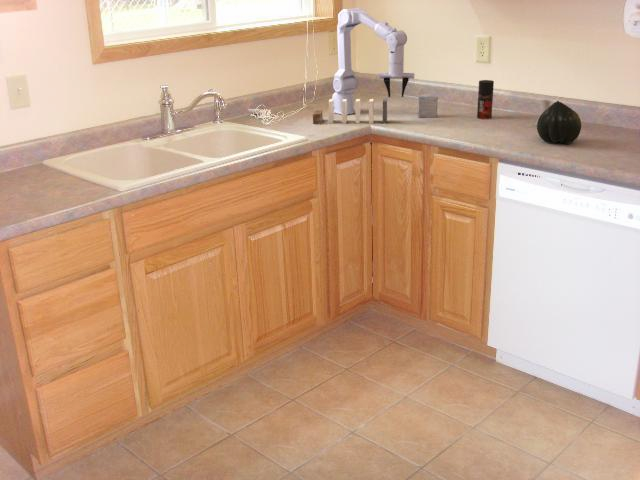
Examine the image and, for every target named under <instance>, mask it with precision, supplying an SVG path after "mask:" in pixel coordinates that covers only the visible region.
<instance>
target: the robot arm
mask: <svg viewBox="0 0 640 480" xmlns="http://www.w3.org/2000/svg"><path fill="white" fill-rule="evenodd" d="M337 21H338V23H337V25H336V27H337V28H336V33H337V35H336V36H337V61H338V70H337V71H336V72H335V73H334V75H333V76H334V77H333V81H332V87H333V90H334V91H335V92H334V93H333V94H332V96H331V99H334V114H338V115H342V100H343V99H347V115H352V114H356V111H355V107H354V106H355V105H354V104H355V103H354V102H355V100H354V92H355V90H356V89H357V88H358V80H357V78H356V77H357V75H356V72H355V71H354V70H353V69H352V49H351V48H352V47H351V46H352V45H351V43H352V39H351V31H353V30H354V28H355V27H356V26H358V25H360V24H363V25H365V26H367V27H369V28H370V29H372V30H373V31H374V32H375V33H374V34H375V35H376V36H378V37H379V38H380V39H383V41H385V42H386V45H387V47H388V51H389V52H388V53H389V54H388V55H389V58H388V60H389V61H388V63H389V64H388V68H389V69H388V72H383V73H381V72H380V73H378V74H377V77H378V78H377V79H378V80H383V82H384V85H385V88H386V91H387V95H388V98H391V80H392V79H393V80H394V79H397V80H398V79H401V80H402V83H401V86H402V87H401V98H404V95H405V90H406V87H407V85H408V83H409V80H410V79H411V80H415V73H414V72H404V68H405V67H404V64H405V63H404V62H405V61H404V57H405V44H407V41H408V36H407V34H406V32H405V31H404V30H397V28H396V27H393V26H391V25H390V24H389V22H387V21H378V20H377V19H375V18H374V17H373V16H371V15H370V14H369V13H367V11H366V10H365V9H363V8H361V7H355V8H344V9H342V10H340V12H339V13H338V14H337Z"/></svg>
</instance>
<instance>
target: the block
mask: <svg viewBox="0 0 640 480" xmlns="http://www.w3.org/2000/svg"><path fill="white" fill-rule="evenodd" d="M323 119H324V118H323V110H321V109H317V110H316V109H315V110H314V111H313V113H312V124H314V125H321V123H322V122H323Z"/></svg>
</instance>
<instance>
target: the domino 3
mask: <svg viewBox="0 0 640 480" xmlns="http://www.w3.org/2000/svg"><path fill="white" fill-rule="evenodd" d="M354 102H355V103H354V104H355V105H354V106H355V107H354V111H356V113H355V124H360V123H361V98H355V100H354Z"/></svg>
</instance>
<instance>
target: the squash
mask: <svg viewBox="0 0 640 480" xmlns="http://www.w3.org/2000/svg"><path fill="white" fill-rule="evenodd" d="M539 115H540V114H539ZM538 117H539V116H538ZM537 119H538V118H537ZM536 129H537V134H538V135H539V138H541V140H543V141H544V142H545V143H547V144H553V143H557V142H558V141H559V142H561V143H563V144H565V145H569V144H571V143H573V142H574V141H575V140H577V138H579V136H580V133H581V131H582V120H581V118H580V115H579V114H578V113H577V112H576V111H575V110H573V109H572V108H571V107H570V106H568V105H566V104H565V103H563V102H561V101H558V100H557V101H554V102H553V103H552V104H550V106H549V108H548V109H546V110H545V111H544V112H543V113H542V114H541V115H540V117H539V119H538V123H537V127H536Z"/></svg>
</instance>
